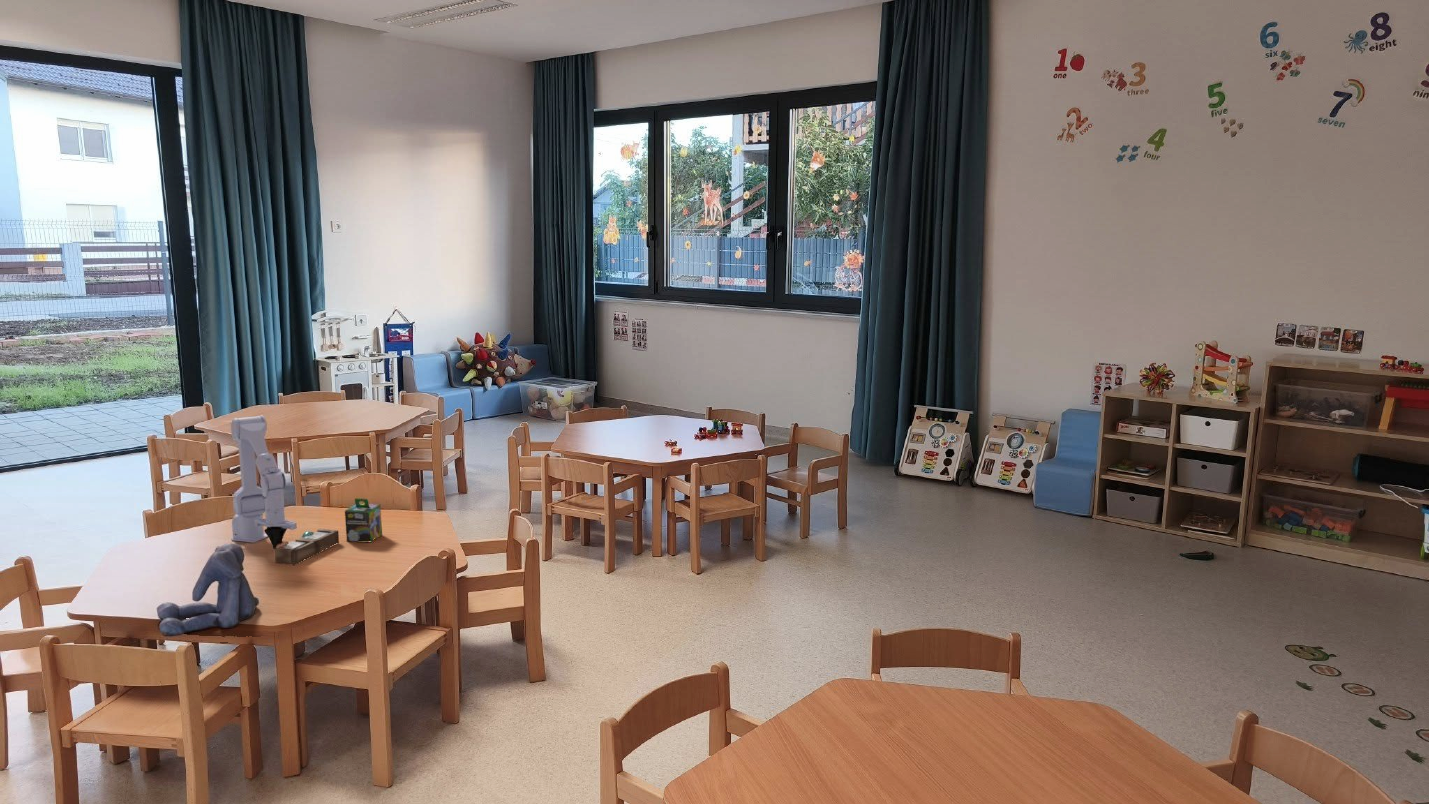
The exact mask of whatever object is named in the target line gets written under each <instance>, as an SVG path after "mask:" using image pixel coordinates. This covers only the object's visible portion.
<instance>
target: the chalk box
mask: <svg viewBox="0 0 1429 804" xmlns="http://www.w3.org/2000/svg"><path fill="white" fill-rule="evenodd" d="M360 502H362V503H360ZM354 503H355V504H353V505H351V506H350V507H349V508H347V509H345V510H344V519H345V532H346V533H345V535H346V537H345V538H346V541H347V540H348V541H347V542H354V541H372V540H373V539H374V538H376V539H378V538H379V537H380V535H381V534H382V535H383V526H382V511H381V510H382V509H381V504H380V503H369V500H368V499H367V498H357V497H356V498H354ZM382 535H381V536H382ZM378 536H379V537H378ZM377 537H378V538H377ZM373 541H374V540H373ZM373 541H372V542H373Z"/></svg>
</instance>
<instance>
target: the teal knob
mask: <svg viewBox="0 0 1429 804" xmlns="http://www.w3.org/2000/svg"><path fill="white" fill-rule="evenodd" d="M326 534H329V533H324V532H317V531H316V532H313V531H308V530H306V531H305V532H304V533H303V534H302V536H301V537H302V538H311V539H318V538H320V537H322V536H324V535H326Z"/></svg>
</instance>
